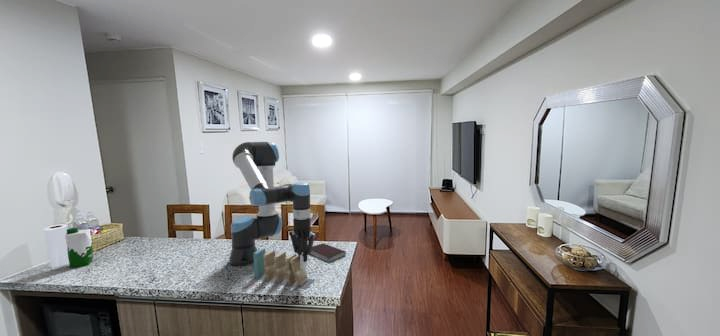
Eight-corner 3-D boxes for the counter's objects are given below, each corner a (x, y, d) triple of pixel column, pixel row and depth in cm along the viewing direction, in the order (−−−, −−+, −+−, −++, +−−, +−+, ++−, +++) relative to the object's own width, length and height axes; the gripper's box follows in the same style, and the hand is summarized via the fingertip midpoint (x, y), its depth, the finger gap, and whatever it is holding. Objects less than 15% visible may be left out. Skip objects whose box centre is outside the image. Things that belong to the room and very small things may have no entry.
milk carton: (73, 263, 151) (69, 227, 149) (95, 259, 156) (91, 224, 154) (66, 269, 144) (62, 231, 142) (90, 265, 148) (86, 228, 146)
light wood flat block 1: (264, 279, 131) (263, 254, 130) (272, 273, 137) (271, 249, 135) (268, 279, 130) (267, 255, 129) (276, 274, 136) (275, 250, 135)
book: (323, 247, 172) (323, 242, 171) (346, 255, 159) (345, 250, 158) (307, 253, 162) (307, 248, 162) (329, 263, 149) (329, 257, 149)
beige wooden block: (275, 281, 129) (274, 256, 128) (283, 275, 134) (282, 251, 133) (278, 282, 128) (277, 257, 127) (286, 276, 134) (285, 252, 133)
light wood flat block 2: (286, 283, 127) (285, 258, 126) (293, 277, 132) (292, 253, 131) (289, 284, 126) (288, 259, 125) (297, 278, 132) (296, 253, 130)
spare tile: (254, 277, 133) (253, 253, 132) (262, 271, 139) (261, 248, 137) (257, 277, 132) (256, 253, 131) (266, 272, 138) (265, 248, 137)
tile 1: (297, 285, 125) (289, 260, 125) (304, 279, 130) (297, 255, 130) (301, 285, 124) (293, 259, 124) (308, 279, 130) (300, 254, 130)
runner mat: (248, 278, 132) (248, 277, 132) (261, 270, 141) (261, 269, 141) (305, 290, 122) (305, 289, 122) (315, 280, 130) (315, 279, 130)
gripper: (284, 218, 123) (286, 269, 125) (310, 221, 118) (311, 274, 121) (294, 214, 130) (295, 262, 132) (318, 216, 125) (319, 266, 128)
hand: (303, 267), depth 127 cm, fingers closed
